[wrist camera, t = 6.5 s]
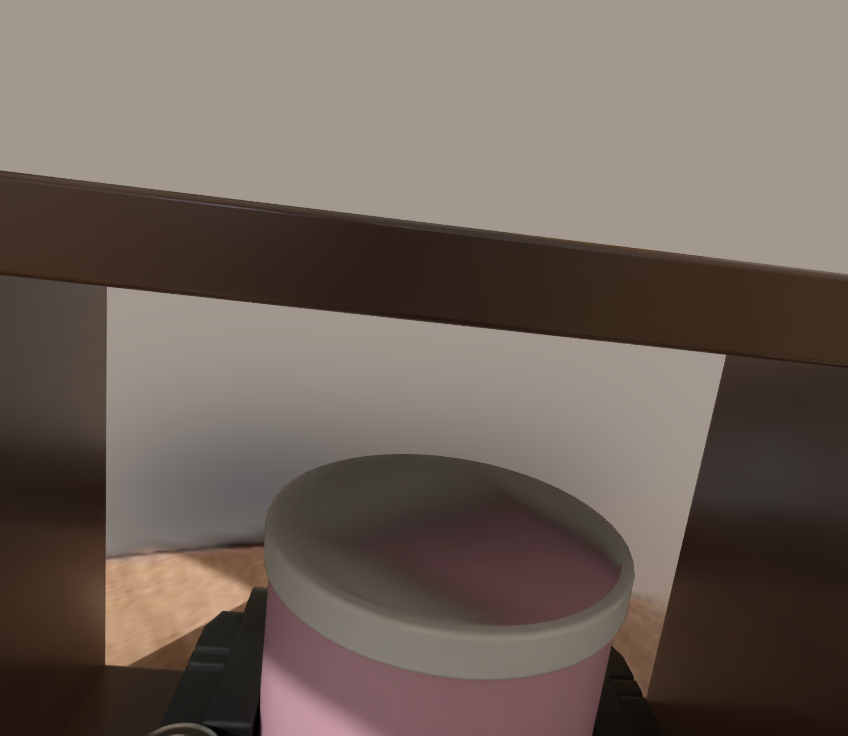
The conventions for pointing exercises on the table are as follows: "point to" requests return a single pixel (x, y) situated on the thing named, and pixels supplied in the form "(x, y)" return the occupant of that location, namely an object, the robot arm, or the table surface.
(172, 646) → the table surface
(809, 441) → the cubby cabinet
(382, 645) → the pink canister
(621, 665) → the robot arm
